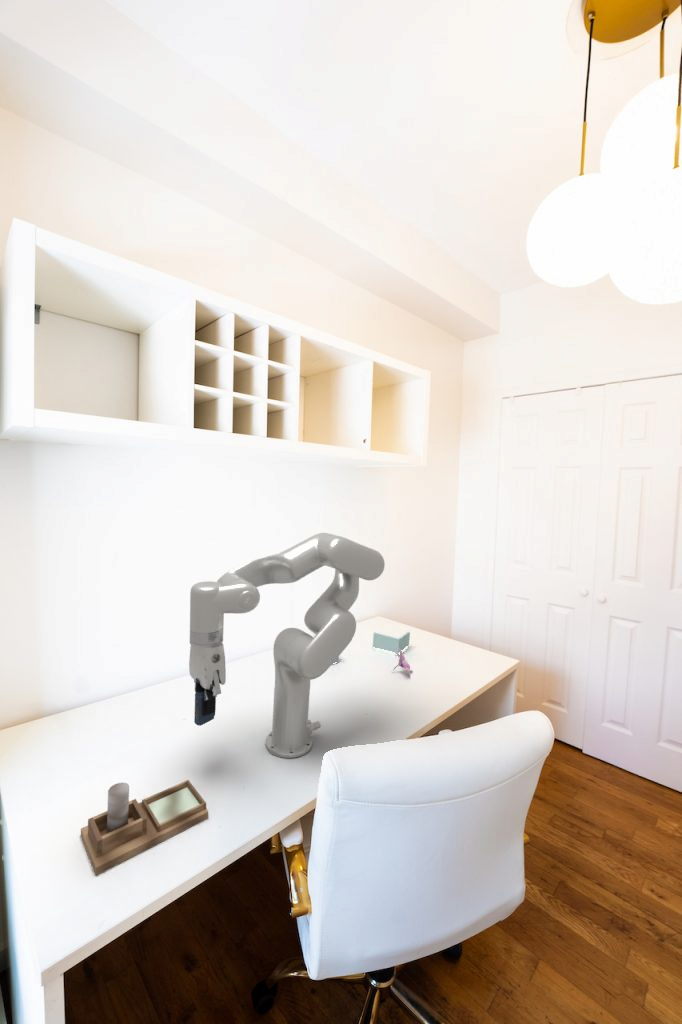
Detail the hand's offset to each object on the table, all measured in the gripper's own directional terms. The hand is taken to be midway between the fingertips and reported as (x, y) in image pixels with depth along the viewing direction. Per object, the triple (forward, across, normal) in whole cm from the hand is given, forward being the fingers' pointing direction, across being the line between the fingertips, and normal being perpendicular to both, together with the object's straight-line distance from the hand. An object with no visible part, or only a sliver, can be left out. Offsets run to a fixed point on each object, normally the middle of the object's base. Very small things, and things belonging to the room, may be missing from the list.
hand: (205, 710), depth 103 cm
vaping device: (+3, 0, 0) cm, 3 cm away
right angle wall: (+19, +26, -100) cm, 105 cm away
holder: (+15, -8, +16) cm, 24 cm away
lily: (+18, +7, -84) cm, 86 cm away
